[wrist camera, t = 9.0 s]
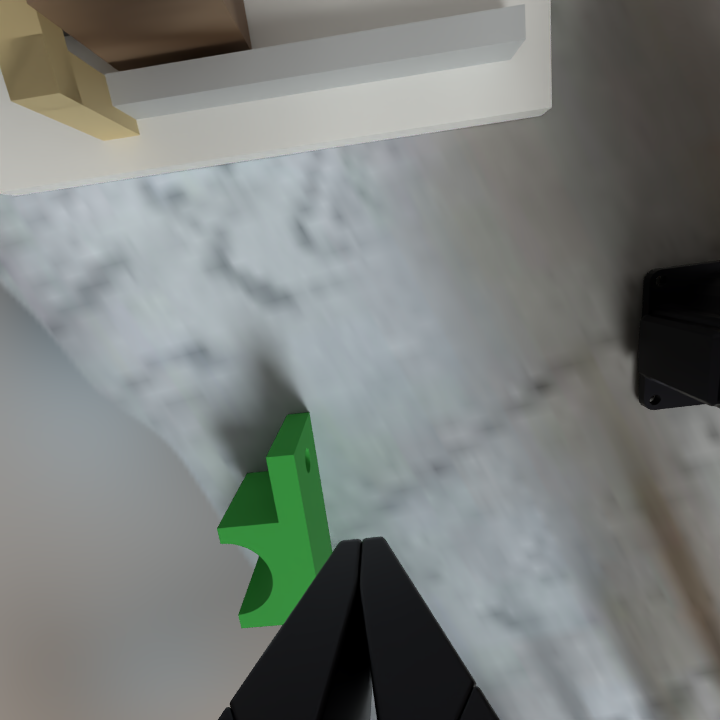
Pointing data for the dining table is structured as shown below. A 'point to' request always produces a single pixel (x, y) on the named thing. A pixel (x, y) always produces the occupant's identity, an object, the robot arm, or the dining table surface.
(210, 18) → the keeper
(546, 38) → the channel board
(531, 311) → the dining table surface
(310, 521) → the pipe clamp
